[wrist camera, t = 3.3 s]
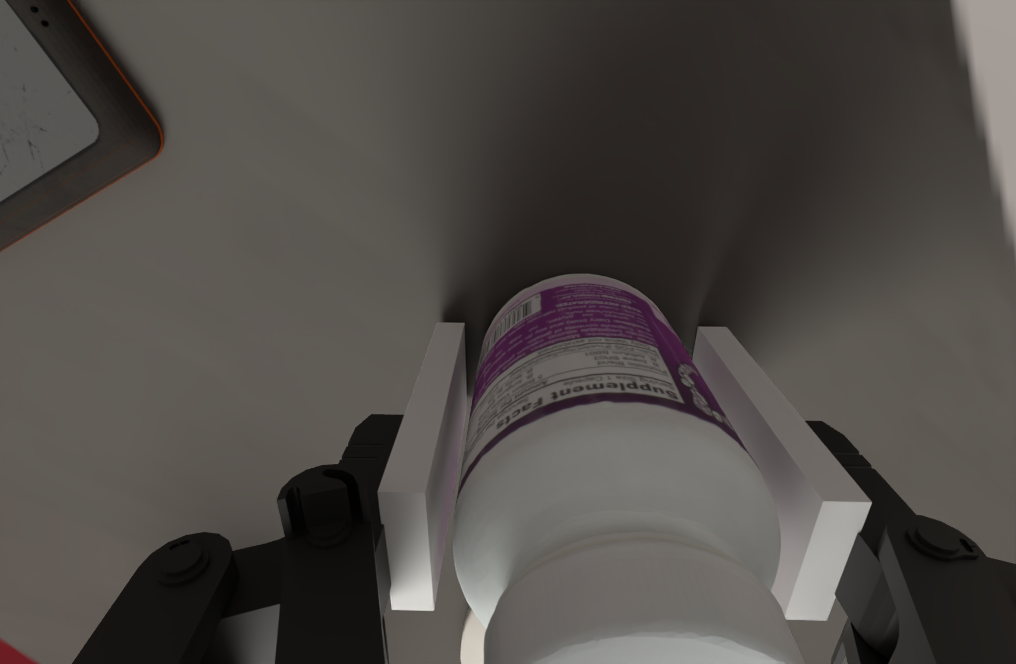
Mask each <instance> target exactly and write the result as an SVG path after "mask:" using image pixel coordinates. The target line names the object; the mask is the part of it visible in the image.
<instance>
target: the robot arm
mask: <svg viewBox="0 0 1016 664" xmlns="http://www.w3.org/2000/svg"><path fill="white" fill-rule="evenodd" d="M692 361H693V362H694V364H695V366H696V367H697V369H698V371H699V373H700V374H701V376H702V378H703V379H704V381H705V382H706V384H707V386H708V387H709V389H710V391H711V392H712V394H713V395H714V397H715V399H716V400H717V402H718V404H719V405H720V407H721V409H722V410H723V412H724V413H725V415H726V417H727V418H728V420H729V422H730V424H731V425H732V427H733V428H734V430H735V431H736V433H737V435H738V436H739V438H740V439H741V441H742V443H743V445H744V447H745V448H746V450H747V451H748V452H749V454H750V455H751V457H752V458H753V460H754V461H755V463H756V464H757V466H758V467H759V469H760V471H761V473H762V475H763V478H764V480H765V483H766V485H767V487H768V489H769V491H770V493H771V496H772V499H773V501H774V504H775V507H776V510H777V515H778V520H779V525H780V533H781V552H780V561H779V566H778V570H777V574H776V578H775V581H774V585H773V587H772V589H771V592H772V594H773V595H774V596H775V598H776V600H777V601H778V603H779V604H780V606H781V608H782V611H783V613H784V616H785V618H786V619H788V620H826V621H827V618H828V616H829V613H830V611H831V608H832V605H833V603H834V600H835V598H836V597H837V599H838V601H839V602H840V604H841V606H842V607H843V609H844V611H845V612H846V614H847V616H848V619H847V622H846V624H845V626H844V629H843V631H842V634H841V636H840V639H839V641H838V644H837V646H836V648H835V651H834V653H833V656H832V659H831V664H842V662H843V659H844V657H845V656H846V657H847V661H848V664H1016V564H1013V563H1009V562H1005V561H1001V560H997V559H993V558H989V557H986V555H985V554H984V553H983V552H982V550H981V549H980V548H979V547H978V546H977V544H976V543H975V542H973V541H972V540H971V539H969V538H968V537H967V536H965V535H964V534H963V533H961V532H960V531H959V530H957V529H955V528H953V527H951V526H949V525H947V524H945V523H943V522H941V521H938V520H935V519H931V518H928V517H925V516H922V515H916V514H915V513H914V512H913V511H912V510H911V508H910V507H909V506H908V505H907V504H906V503H905V502H904V501H903V500H902V499H901V497H900V496H899V495H898V494H897V493H896V492H895V491H894V490H893V489H892V488H891V486H890V485H889V484H888V483H887V482H886V481H885V480H884V479H883V478H882V477H881V475H880V474H879V473H878V472H877V471H876V470H875V469H872V468H871V464H870V463H869V462H868V461H867V460H866V459H865V458H864V457H863V456H862V455H859V451H858V450H857V449H856V448H855V447H854V446H853V445H852V443H851V442H850V441H849V440H848V439H847V438H846V437H845V436H844V435H843V434H841V433H840V432H838V431H837V430H835V429H833V428H832V427H830V426H829V425H827V424H826V423H824V422H822V421H804V420H803V418H802V417H801V416H800V415H799V414H798V412H797V411H796V410H795V409H794V408H793V406H792V405H791V404H790V403H789V402H788V400H787V399H786V398H785V397H784V396H783V394H782V393H781V392H780V391H779V390H778V388H777V387H776V386H775V385H774V383H773V382H772V381H771V380H770V379H769V377H768V376H767V375H766V374H765V373H764V371H763V370H762V369H761V368H760V367H759V365H758V364H757V363H756V362H755V361H754V359H753V358H752V357H751V356H750V355H749V353H748V352H747V351H746V350H745V349H744V347H743V346H742V345H741V344H740V343H739V341H738V340H737V339H736V338H735V337H734V335H733V334H732V333H731V332H730V330H729V329H728V328H727V327H699V326H698V329H697V335H696V341H695V347H694V352H693V358H692ZM466 412H467V388H466V355H465V323H440V322H436V325H435V328H434V331H433V334H432V337H431V340H430V342H429V345H428V348H427V351H426V354H425V357H424V360H423V362H422V365H421V368H420V371H419V374H418V377H417V380H416V383H415V385H414V388H413V391H412V394H411V397H410V400H409V403H408V406H407V408H406V411H405V414H404V415H384V414H371V415H370V416H369V417H368V418H366V419H365V420H364V421H363V422H362V423H361V424H359V425H358V426H357V427H356V428H355V430H354V432H353V434H352V436H351V438H350V441H349V443H348V447H346V449H345V451H344V453H343V455H342V460H340V462H339V464H333V465H321V466H318V467H314V468H311V469H308V470H305V471H303V472H302V473H300V474H298V475H296V476H295V477H293V478H291V480H290V481H289V482H288V483H287V484H286V485H285V486H284V487H283V488H282V489H281V491H280V493H279V496H278V498H277V504H278V508H279V512H280V517H281V521H282V525H283V530H284V534H285V537H283V538H281V539H279V540H276V541H272V542H269V543H266V544H261V545H257V546H253V547H248V548H244V549H239V550H235V551H232V548H231V545H230V543H229V540H227V539H226V538H224V537H223V536H221V535H220V534H215V533H207V532H202V533H196V534H190V535H185V536H183V537H180V538H178V539H176V540H173V541H171V542H168V543H167V544H165V545H164V546H162V547H161V548H159V549H158V550H156V551H155V552H153V553H152V554H150V556H149V557H148V558H147V559H146V560H145V561H144V562H143V563H142V564H141V565H140V566H139V567H138V569H137V570H136V572H135V573H134V575H133V576H132V577H131V579H130V580H129V582H128V583H127V585H126V586H125V588H124V589H123V591H122V592H121V593H120V595H119V596H118V598H117V599H116V601H115V602H114V604H113V605H112V606H111V608H110V609H109V611H108V612H107V614H106V615H105V617H104V618H103V619H102V621H101V622H100V624H99V625H98V627H97V628H96V630H95V631H94V632H93V634H92V635H91V637H90V638H89V640H88V641H87V643H86V644H85V645H84V647H83V648H82V650H81V651H80V653H79V654H78V656H77V657H76V659H75V660H74V661H73V663H72V664H389V655H388V646H387V636H386V627H385V620H384V612H385V608H386V604H387V600H388V596H389V592H390V597H391V605H392V610H424V611H434V608H435V601H436V595H437V589H438V583H439V577H440V571H441V565H442V559H443V553H444V547H445V540H446V534H447V528H448V522H449V516H450V510H451V504H452V498H453V492H454V485H455V479H456V473H457V467H458V461H459V455H460V449H461V443H462V437H463V430H464V424H465V418H466Z"/></svg>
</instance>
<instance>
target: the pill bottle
mask: <svg viewBox="0 0 1016 664" xmlns="http://www.w3.org/2000/svg"><path fill="white" fill-rule="evenodd" d="M780 552H781V533H780V525H779V520H778V515H777V510H776V507H775V504H774V501H773V499H772V496H771V493H770V491H769V489H768V487H767V485H766V483H765V480H764V478H763V475H762V473H761V471H760V469H759V467H758V466H757V464H756V463H755V461H754V460H753V458H752V457H751V455H750V454H749V452H748V451H747V450H746V448H745V447H744V445H743V443H742V441H741V439H740V438H739V436H738V435H737V433H736V431H735V430H734V428H733V427H732V425H731V424H730V422H729V420H728V418H727V417H726V415H725V413H724V412H723V410H722V409H721V407H720V405H719V404H718V402H717V400H716V399H715V397H714V395H713V394H712V392H711V391H710V389H709V387H708V386H707V384H706V382H705V381H704V379H703V378H702V376H701V374H700V373H699V371H698V369H697V367H696V366H695V364H694V362H693V361H692V359H691V358H690V356H689V354H688V353H687V351H686V349H685V348H684V346H683V345H682V343H681V341H680V339H679V337H678V336H677V334H676V333H675V331H674V330H673V328H672V327H671V326H670V324H669V322H668V321H667V320H666V318H665V317H664V315H663V314H662V313H661V311H660V310H659V309H658V307H657V306H656V305H655V304H654V303H653V302H652V301H651V300H650V299H649V298H647V297H646V296H645V295H644V294H642V293H641V292H640V291H638V290H637V289H635V288H633V287H631V286H629V285H628V284H626V283H623V282H621V281H618V280H616V279H613V278H609V277H605V276H600V275H594V274H566V275H561V276H557V277H553V278H550V279H546V280H543V281H541V282H539V283H536V284H534V285H533V286H531V287H528V288H525V289H523V290H522V291H520V292H519V293H518V294H516V295H515V296H514V297H513V298H512V299H510V300H509V301H508V302H507V303H506V304H505V305H504V306H503V308H502V309H501V310H500V311H499V312H498V314H497V315H496V316H495V318H494V319H493V321H492V323H491V325H490V327H489V328H488V331H487V333H486V335H485V338H484V341H483V344H482V349H481V354H480V359H479V363H478V366H477V373H476V380H475V388H474V394H473V401H472V407H471V413H470V419H469V426H468V432H467V438H466V446H465V452H464V457H463V464H462V471H461V477H460V482H459V491H458V496H457V501H456V506H455V512H454V531H453V557H454V563H455V568H456V574H457V577H458V580H459V583H460V585H461V588H462V591H463V593H464V595H465V598H466V600H467V602H468V604H469V605H470V607H471V609H472V610H473V612H474V614H475V615H476V617H477V618H478V619H479V621H480V622H481V623H482V624H483V626H484V627H485V628H486V633H485V636H484V664H805V662H804V660H803V657H802V655H801V653H800V651H799V649H798V647H797V645H796V642H795V640H794V638H793V636H792V634H791V632H790V629H789V627H788V625H787V622H786V618H785V616H784V613H783V611H782V608H781V606H780V604H779V603H778V601H777V600H776V598H775V596H774V595H773V594H772V592H771V589H772V587H773V585H774V581H775V578H776V574H777V570H778V566H779V561H780Z"/></svg>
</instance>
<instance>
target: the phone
mask: <svg viewBox="0 0 1016 664" xmlns="http://www.w3.org/2000/svg"><path fill="white" fill-rule="evenodd" d="M163 144H164V138H163V133H162V130H161V128H160V126H159V124H158V122H157V121H156V119H155V118H154V117H153V115H152V114H151V113H150V111H149V110H148V108H147V107H146V106H145V104H144V103H143V101H142V100H141V99H140V97H139V96H138V94H137V93H136V92H135V90H134V89H133V88H132V86H131V85H130V83H129V82H128V81H127V79H126V78H125V76H124V75H123V74H122V72H121V71H120V69H119V68H118V67H117V65H116V64H115V62H114V61H113V60H112V58H111V57H110V56H109V54H108V53H107V51H106V50H105V49H104V47H103V46H102V44H101V43H100V42H99V40H98V39H97V37H96V36H95V35H94V33H93V32H92V31H91V29H90V28H89V26H88V25H87V24H86V22H85V21H84V19H83V18H82V17H81V15H80V14H79V12H78V11H77V10H76V8H75V7H74V6H73V4H72V3H71V1H70V0H0V252H1V251H3V250H4V249H6V248H8V247H9V246H11V245H13V244H14V243H16V242H18V241H19V240H21V239H23V238H24V237H26V236H28V235H29V234H31V233H32V232H34V231H36V230H37V229H39V228H41V227H42V226H44V225H46V224H47V223H49V222H51V221H52V220H54V219H56V218H57V217H59V216H60V215H62V214H64V213H65V212H67V211H69V210H70V209H72V208H74V207H75V206H77V205H79V204H80V203H82V202H84V201H85V200H87V199H88V198H90V197H92V196H93V195H95V194H97V193H98V192H100V191H102V190H103V189H105V188H107V187H108V186H110V185H112V184H113V183H115V182H116V181H118V180H120V179H121V178H123V177H125V176H126V175H128V174H130V173H131V172H133V171H135V170H136V169H138V168H140V167H141V166H143V165H145V164H146V163H148V162H149V161H151V160H153V159H154V158H156V157H157V156H158V155H159V154H160V153H161V151H162V148H163Z"/></svg>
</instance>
